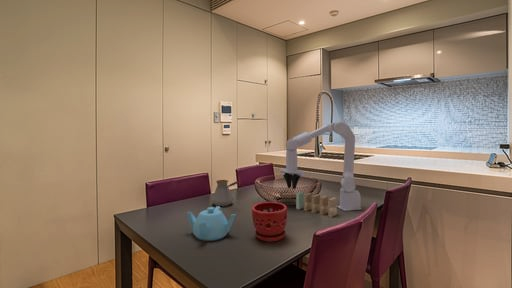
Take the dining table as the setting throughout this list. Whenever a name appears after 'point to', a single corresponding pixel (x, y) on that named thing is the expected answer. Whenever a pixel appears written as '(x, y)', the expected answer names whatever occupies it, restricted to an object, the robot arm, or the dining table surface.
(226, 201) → the coffee pot
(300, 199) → the teal domino
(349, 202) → the robot arm
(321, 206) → the domino
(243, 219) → the dining table surface
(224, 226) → the teapot
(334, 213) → the domino
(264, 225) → the plant pot
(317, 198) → the domino
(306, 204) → the domino
